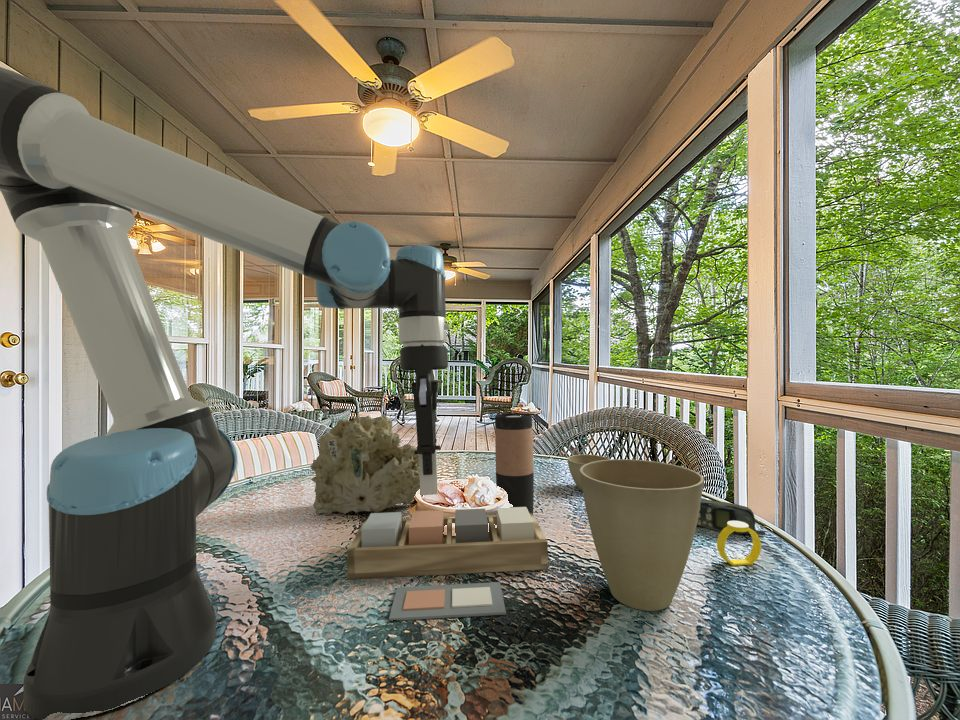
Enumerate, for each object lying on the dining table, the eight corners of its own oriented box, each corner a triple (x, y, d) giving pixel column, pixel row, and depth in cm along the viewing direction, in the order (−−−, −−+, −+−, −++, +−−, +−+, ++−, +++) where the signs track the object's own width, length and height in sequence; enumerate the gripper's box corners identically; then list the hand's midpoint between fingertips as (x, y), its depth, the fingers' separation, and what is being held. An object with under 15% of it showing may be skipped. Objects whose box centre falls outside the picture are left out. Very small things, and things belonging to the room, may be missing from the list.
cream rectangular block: (534, 541, 64) (533, 522, 64) (501, 543, 64) (501, 523, 64) (526, 524, 71) (526, 506, 71) (497, 525, 71) (496, 508, 71)
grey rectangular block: (488, 544, 63) (488, 524, 63) (455, 545, 63) (455, 525, 63) (485, 526, 70) (485, 508, 70) (455, 527, 70) (455, 509, 70)
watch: (727, 571, 60) (723, 530, 60) (715, 562, 63) (711, 522, 63) (766, 565, 61) (762, 525, 61) (753, 557, 64) (749, 518, 64)
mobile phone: (666, 497, 78) (763, 510, 70) (670, 493, 81) (763, 505, 72) (668, 524, 78) (764, 540, 70) (671, 519, 81) (765, 534, 72)
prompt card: (506, 614, 50) (505, 610, 50) (388, 621, 50) (388, 616, 50) (499, 584, 57) (499, 580, 57) (397, 589, 57) (397, 585, 57)
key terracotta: (442, 546, 63) (442, 526, 63) (409, 547, 63) (408, 527, 63) (443, 528, 70) (443, 510, 70) (413, 529, 70) (413, 511, 70)
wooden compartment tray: (548, 569, 61) (547, 541, 61) (347, 579, 60) (347, 551, 60) (533, 535, 73) (532, 513, 73) (365, 543, 72) (365, 520, 72)
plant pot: (628, 643, 45) (624, 494, 45) (562, 577, 59) (560, 464, 59) (737, 617, 49) (733, 480, 49) (651, 560, 63) (649, 455, 63)
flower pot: (566, 493, 97) (565, 462, 97) (569, 481, 107) (569, 453, 107) (611, 496, 94) (610, 464, 94) (610, 484, 104) (610, 455, 104)
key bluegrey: (395, 548, 63) (395, 528, 63) (361, 550, 62) (361, 529, 62) (401, 530, 70) (401, 512, 70) (371, 531, 69) (370, 513, 69)
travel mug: (503, 523, 80) (501, 418, 80) (491, 510, 87) (489, 413, 87) (540, 518, 82) (538, 416, 82) (526, 506, 89) (524, 412, 89)
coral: (433, 502, 93) (431, 412, 93) (425, 518, 83) (423, 417, 83) (323, 502, 94) (321, 414, 94) (302, 518, 84) (300, 419, 85)
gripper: (446, 342, 60) (452, 505, 60) (448, 346, 73) (452, 480, 73) (394, 344, 60) (399, 508, 60) (404, 347, 73) (409, 483, 73)
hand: (429, 493), depth 67 cm, fingers closed
